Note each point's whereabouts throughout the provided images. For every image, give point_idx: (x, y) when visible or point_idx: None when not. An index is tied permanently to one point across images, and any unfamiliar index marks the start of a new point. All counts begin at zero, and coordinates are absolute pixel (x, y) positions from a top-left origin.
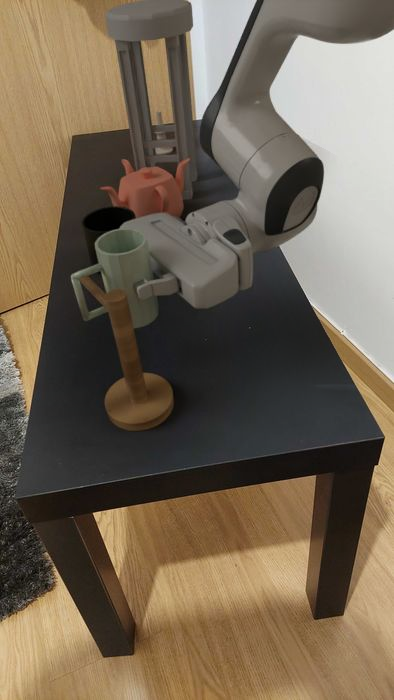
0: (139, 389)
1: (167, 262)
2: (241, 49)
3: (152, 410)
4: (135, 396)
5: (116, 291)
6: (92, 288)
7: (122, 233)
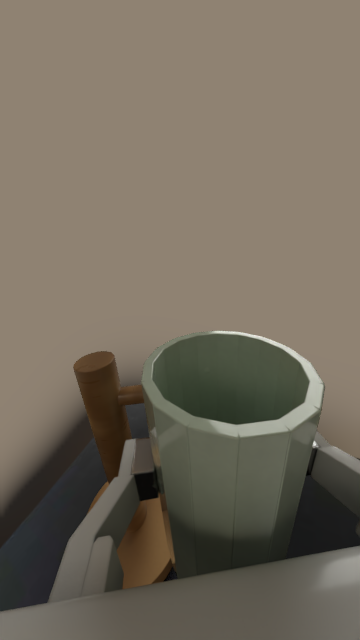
0: None
1: (142, 609)
2: None
3: None
4: None
5: (100, 362)
6: None
7: (304, 389)
